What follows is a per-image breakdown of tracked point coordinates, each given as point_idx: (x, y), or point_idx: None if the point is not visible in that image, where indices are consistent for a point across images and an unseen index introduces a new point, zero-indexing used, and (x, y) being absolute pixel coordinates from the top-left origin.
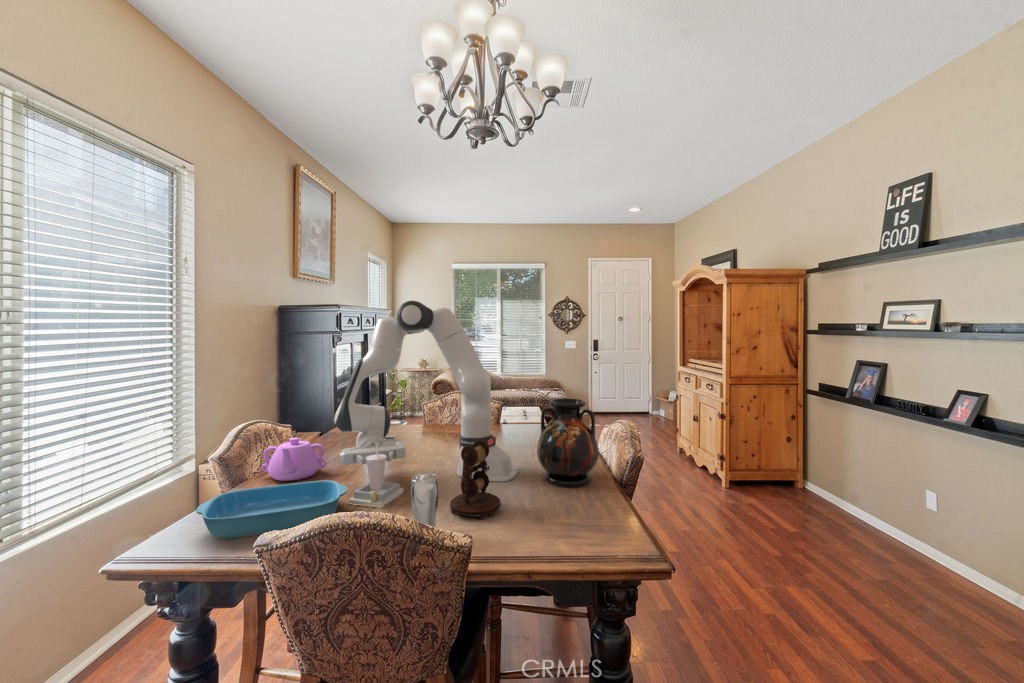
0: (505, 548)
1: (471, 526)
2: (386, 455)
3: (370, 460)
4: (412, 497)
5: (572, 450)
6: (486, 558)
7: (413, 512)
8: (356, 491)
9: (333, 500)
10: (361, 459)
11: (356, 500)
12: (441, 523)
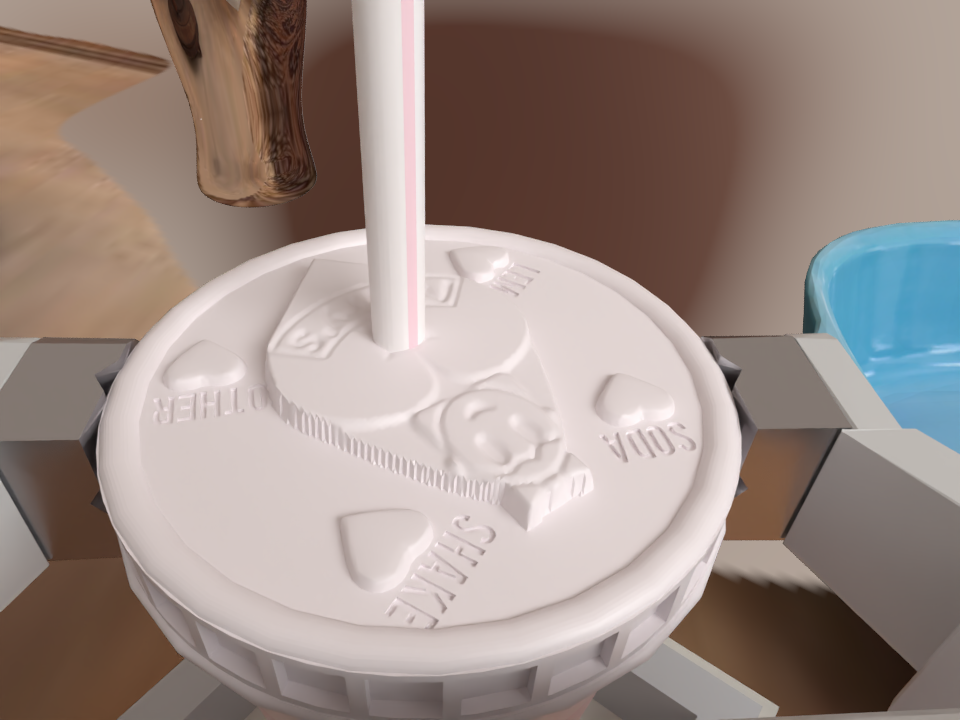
0: (47, 74)
1: (13, 175)
2: (98, 390)
3: (577, 276)
4: None
5: None
6: (148, 65)
7: (303, 56)
8: (719, 698)
9: (823, 250)
10: (815, 338)
11: (677, 647)
12: (121, 226)
